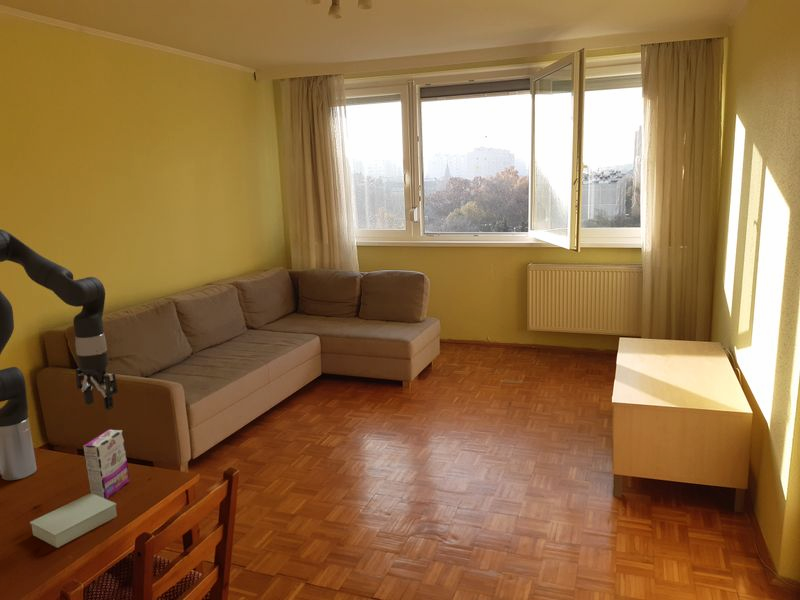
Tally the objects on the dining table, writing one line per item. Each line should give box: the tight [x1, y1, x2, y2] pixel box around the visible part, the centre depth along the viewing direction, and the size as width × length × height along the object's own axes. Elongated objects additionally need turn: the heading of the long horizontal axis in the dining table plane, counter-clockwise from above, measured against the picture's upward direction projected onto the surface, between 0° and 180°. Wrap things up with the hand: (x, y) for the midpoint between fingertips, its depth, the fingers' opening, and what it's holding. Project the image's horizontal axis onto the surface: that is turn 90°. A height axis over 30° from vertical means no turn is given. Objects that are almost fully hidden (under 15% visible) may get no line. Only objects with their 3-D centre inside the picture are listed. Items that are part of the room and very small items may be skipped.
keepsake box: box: [29, 492, 118, 548], centre depth 159 cm, size 16×11×4 cm
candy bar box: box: [82, 428, 131, 500], centre depth 175 cm, size 11×5×16 cm, turn 168°
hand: (99, 406), depth 172 cm, fingers open, 8 cm apart
